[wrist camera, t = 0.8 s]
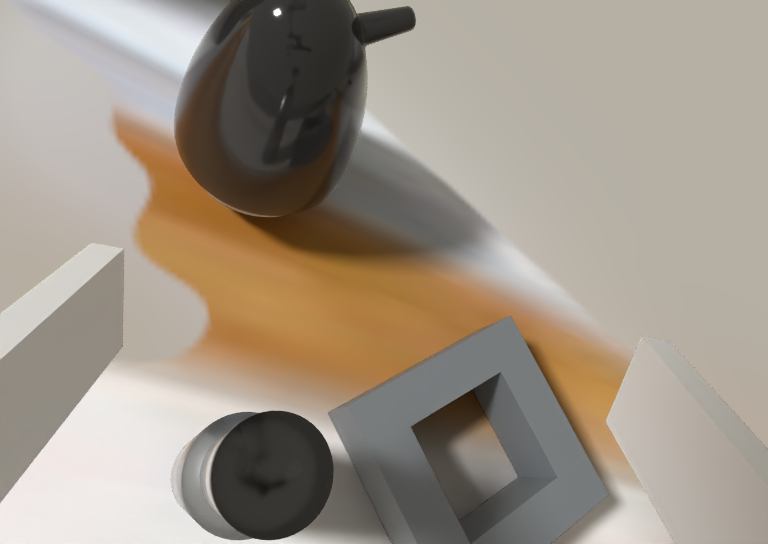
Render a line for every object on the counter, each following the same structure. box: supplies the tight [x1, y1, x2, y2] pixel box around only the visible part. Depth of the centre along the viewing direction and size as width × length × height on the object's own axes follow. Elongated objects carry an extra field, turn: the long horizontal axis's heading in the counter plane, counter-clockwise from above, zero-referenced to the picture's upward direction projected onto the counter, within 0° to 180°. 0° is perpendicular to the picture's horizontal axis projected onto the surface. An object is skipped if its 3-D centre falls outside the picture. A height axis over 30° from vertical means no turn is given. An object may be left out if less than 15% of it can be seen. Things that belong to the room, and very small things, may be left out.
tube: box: [171, 411, 333, 540], centre depth 23 cm, size 4×4×17 cm
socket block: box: [328, 316, 608, 544], centre depth 34 cm, size 12×12×4 cm
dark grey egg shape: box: [174, 0, 416, 217], centre depth 31 cm, size 10×10×15 cm
